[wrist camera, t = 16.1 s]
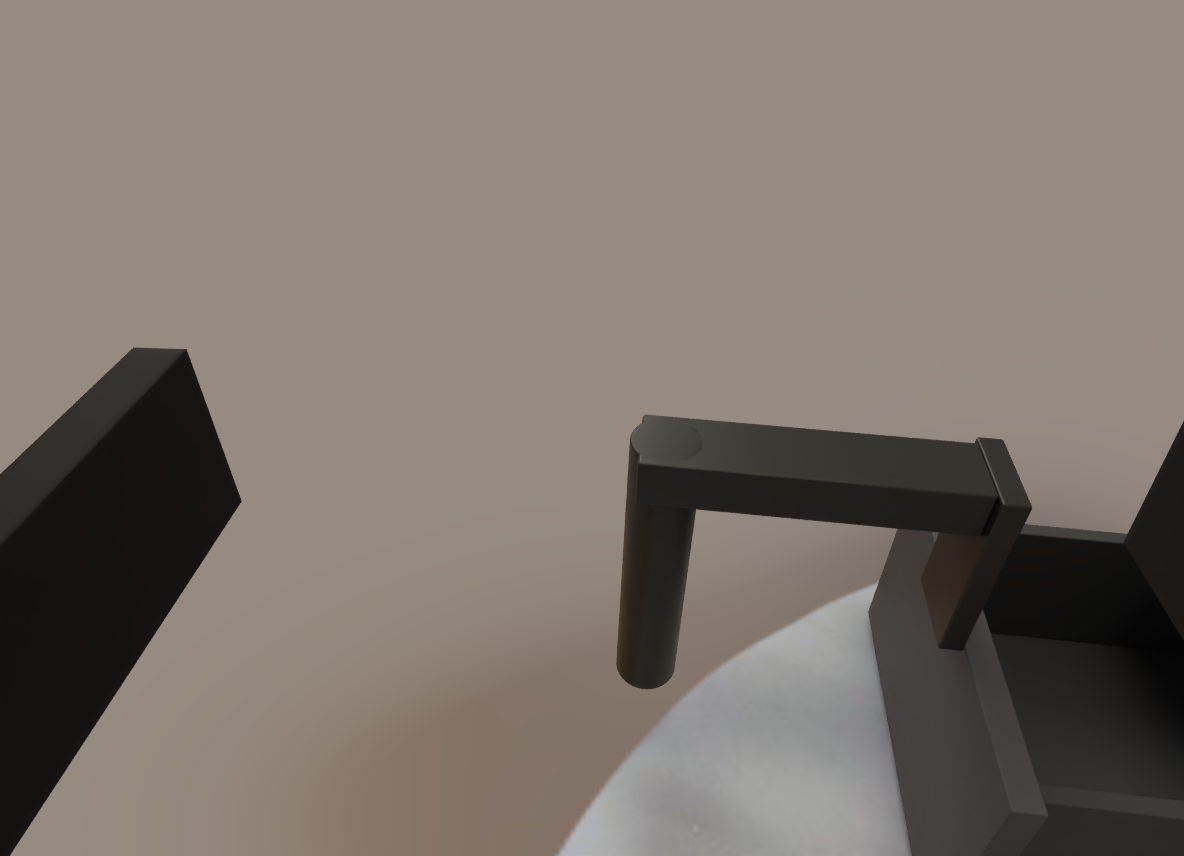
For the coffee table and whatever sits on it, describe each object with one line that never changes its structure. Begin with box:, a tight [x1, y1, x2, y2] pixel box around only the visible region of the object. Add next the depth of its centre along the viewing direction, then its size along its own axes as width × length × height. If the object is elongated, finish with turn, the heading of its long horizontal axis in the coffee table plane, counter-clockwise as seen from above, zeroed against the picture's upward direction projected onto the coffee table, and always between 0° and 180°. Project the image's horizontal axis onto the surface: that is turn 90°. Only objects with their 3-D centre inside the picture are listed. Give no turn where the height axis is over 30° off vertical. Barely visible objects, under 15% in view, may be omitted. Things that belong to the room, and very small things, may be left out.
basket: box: [616, 415, 1184, 856], centre depth 28 cm, size 25×14×15 cm, turn 83°
